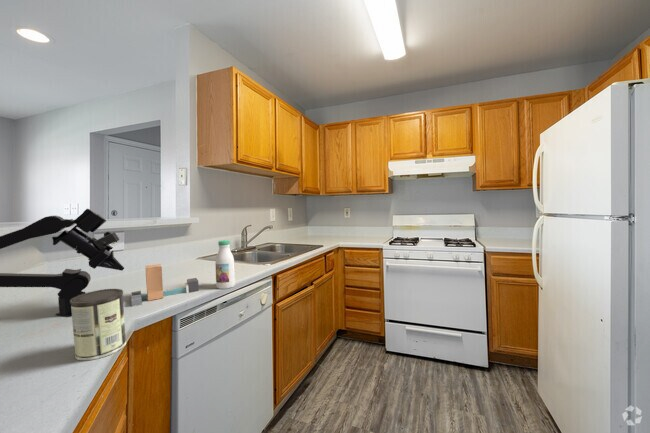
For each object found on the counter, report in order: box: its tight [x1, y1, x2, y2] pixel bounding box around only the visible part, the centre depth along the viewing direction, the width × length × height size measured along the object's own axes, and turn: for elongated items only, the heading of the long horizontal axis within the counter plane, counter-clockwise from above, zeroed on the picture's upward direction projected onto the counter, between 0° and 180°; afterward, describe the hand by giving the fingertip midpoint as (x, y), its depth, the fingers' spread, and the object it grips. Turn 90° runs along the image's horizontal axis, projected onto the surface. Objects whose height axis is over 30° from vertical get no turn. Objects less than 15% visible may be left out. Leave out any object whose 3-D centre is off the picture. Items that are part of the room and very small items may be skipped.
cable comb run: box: [131, 277, 200, 307], centre depth 111 cm, size 23×12×4 cm, turn 125°
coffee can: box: [70, 288, 127, 361], centre depth 70 cm, size 10×10×14 cm
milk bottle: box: [215, 239, 236, 290], centre depth 120 cm, size 8×8×20 cm
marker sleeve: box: [145, 263, 164, 301], centre depth 109 cm, size 5×7×12 cm
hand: (123, 269), depth 103 cm, fingers closed
